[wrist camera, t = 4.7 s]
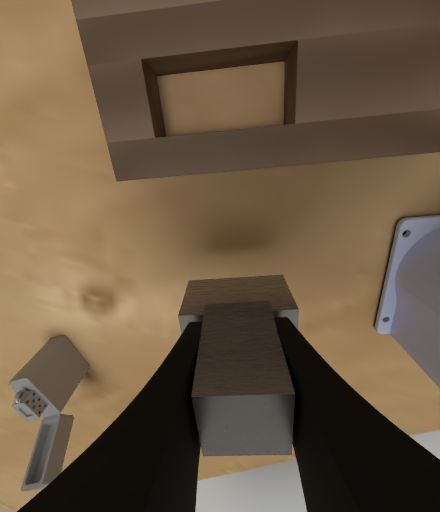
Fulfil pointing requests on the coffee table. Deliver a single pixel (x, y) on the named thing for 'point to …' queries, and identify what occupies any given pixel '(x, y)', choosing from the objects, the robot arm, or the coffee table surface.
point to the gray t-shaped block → (241, 365)
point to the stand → (266, 51)
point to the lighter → (48, 405)
